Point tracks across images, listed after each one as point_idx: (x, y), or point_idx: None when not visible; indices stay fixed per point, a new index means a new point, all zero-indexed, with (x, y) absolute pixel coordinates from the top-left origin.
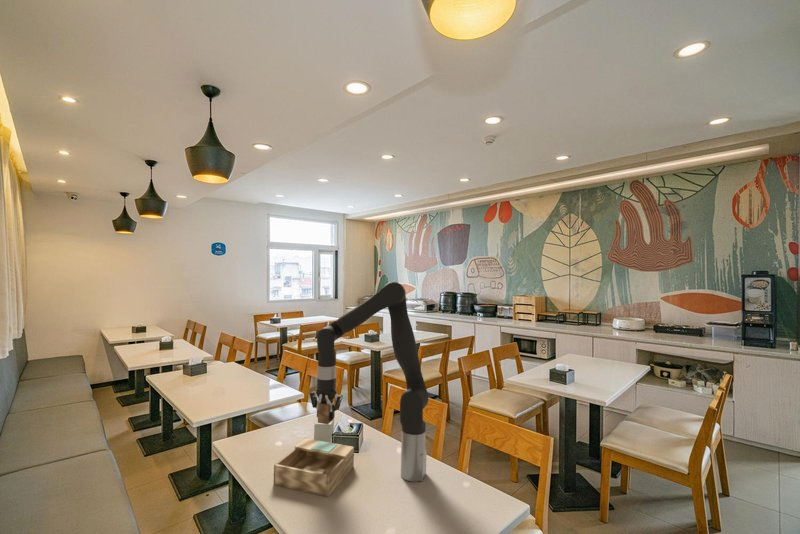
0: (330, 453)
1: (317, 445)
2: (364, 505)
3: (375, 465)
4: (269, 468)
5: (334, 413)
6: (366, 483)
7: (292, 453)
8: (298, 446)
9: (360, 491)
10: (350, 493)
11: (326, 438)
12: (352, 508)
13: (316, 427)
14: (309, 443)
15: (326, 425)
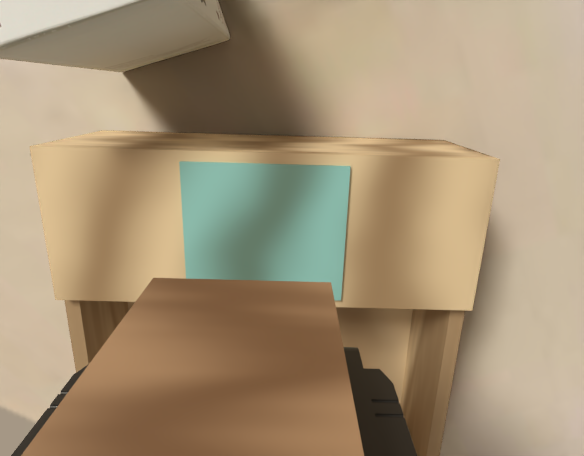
0: (354, 306)
1: (203, 239)
2: (576, 408)
3: (579, 79)
4: (8, 299)
5: (411, 440)
6: (556, 270)
7: (88, 332)
8: (76, 288)
9: (539, 334)
10: (497, 358)
11: (176, 34)
12: (531, 434)
13: (28, 53)
14: (120, 221)
15: (126, 11)
